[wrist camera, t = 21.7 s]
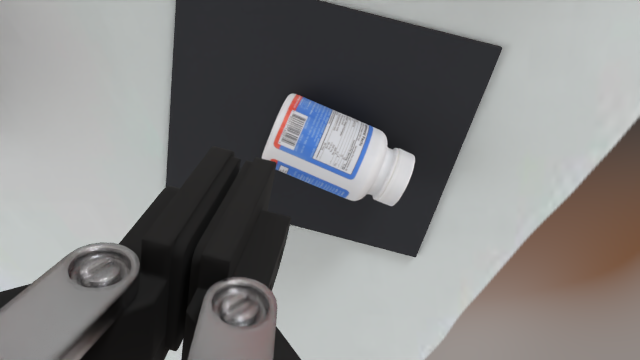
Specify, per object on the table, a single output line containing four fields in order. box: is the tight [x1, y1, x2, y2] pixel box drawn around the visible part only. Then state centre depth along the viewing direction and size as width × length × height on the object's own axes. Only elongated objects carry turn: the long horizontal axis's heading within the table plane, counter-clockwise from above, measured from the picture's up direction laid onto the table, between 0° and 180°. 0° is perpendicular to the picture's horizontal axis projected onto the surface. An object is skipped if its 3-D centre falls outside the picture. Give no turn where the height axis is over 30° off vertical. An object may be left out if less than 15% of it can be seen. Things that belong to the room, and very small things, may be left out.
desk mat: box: [166, 0, 502, 257], centre depth 35 cm, size 22×18×1 cm
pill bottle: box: [262, 93, 415, 206], centre depth 32 cm, size 6×5×10 cm
